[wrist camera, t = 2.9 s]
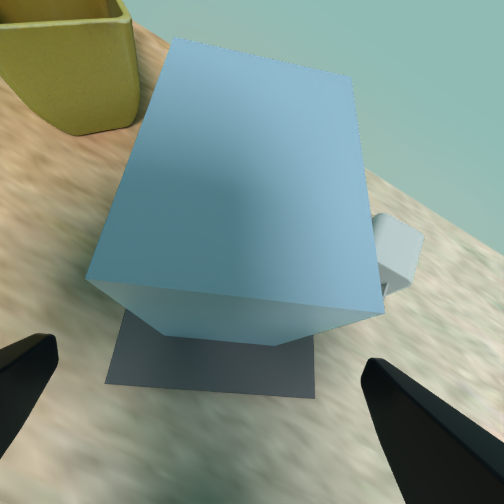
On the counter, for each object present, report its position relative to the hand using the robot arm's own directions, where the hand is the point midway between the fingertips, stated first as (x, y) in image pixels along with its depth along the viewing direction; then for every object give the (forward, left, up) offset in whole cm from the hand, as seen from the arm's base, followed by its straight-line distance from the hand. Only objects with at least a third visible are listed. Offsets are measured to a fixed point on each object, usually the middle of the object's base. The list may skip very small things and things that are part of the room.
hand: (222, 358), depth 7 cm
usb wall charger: (+7, -11, -11) cm, 17 cm away
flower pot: (+20, +14, -11) cm, 27 cm away
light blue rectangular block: (+6, 0, -10) cm, 12 cm away
